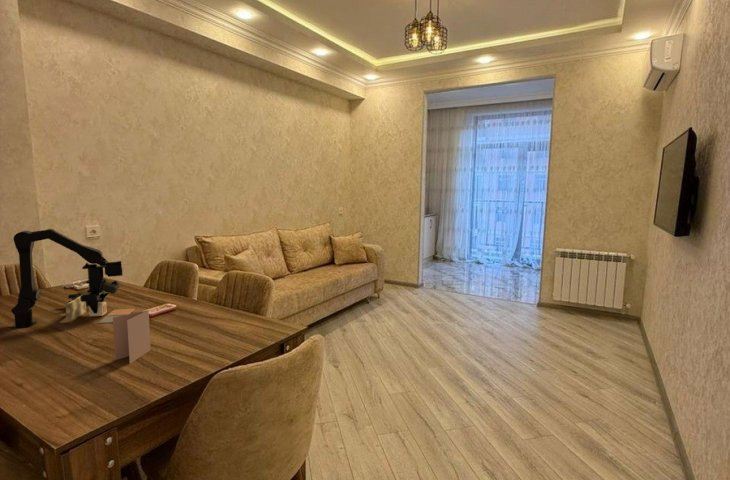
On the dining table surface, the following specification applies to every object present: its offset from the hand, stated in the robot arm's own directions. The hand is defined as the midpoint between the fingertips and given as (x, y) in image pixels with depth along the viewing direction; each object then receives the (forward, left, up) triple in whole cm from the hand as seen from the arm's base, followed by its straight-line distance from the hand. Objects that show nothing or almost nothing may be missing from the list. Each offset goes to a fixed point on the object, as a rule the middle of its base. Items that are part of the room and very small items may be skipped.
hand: (98, 311), depth 179 cm
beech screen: (+2, +10, -2) cm, 11 cm away
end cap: (+17, +14, -3) cm, 22 cm away
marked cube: (0, 0, -1) cm, 1 cm away
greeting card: (-51, -30, -3) cm, 59 cm away
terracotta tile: (+4, -8, -2) cm, 9 cm away
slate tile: (-6, -8, -2) cm, 10 cm away
